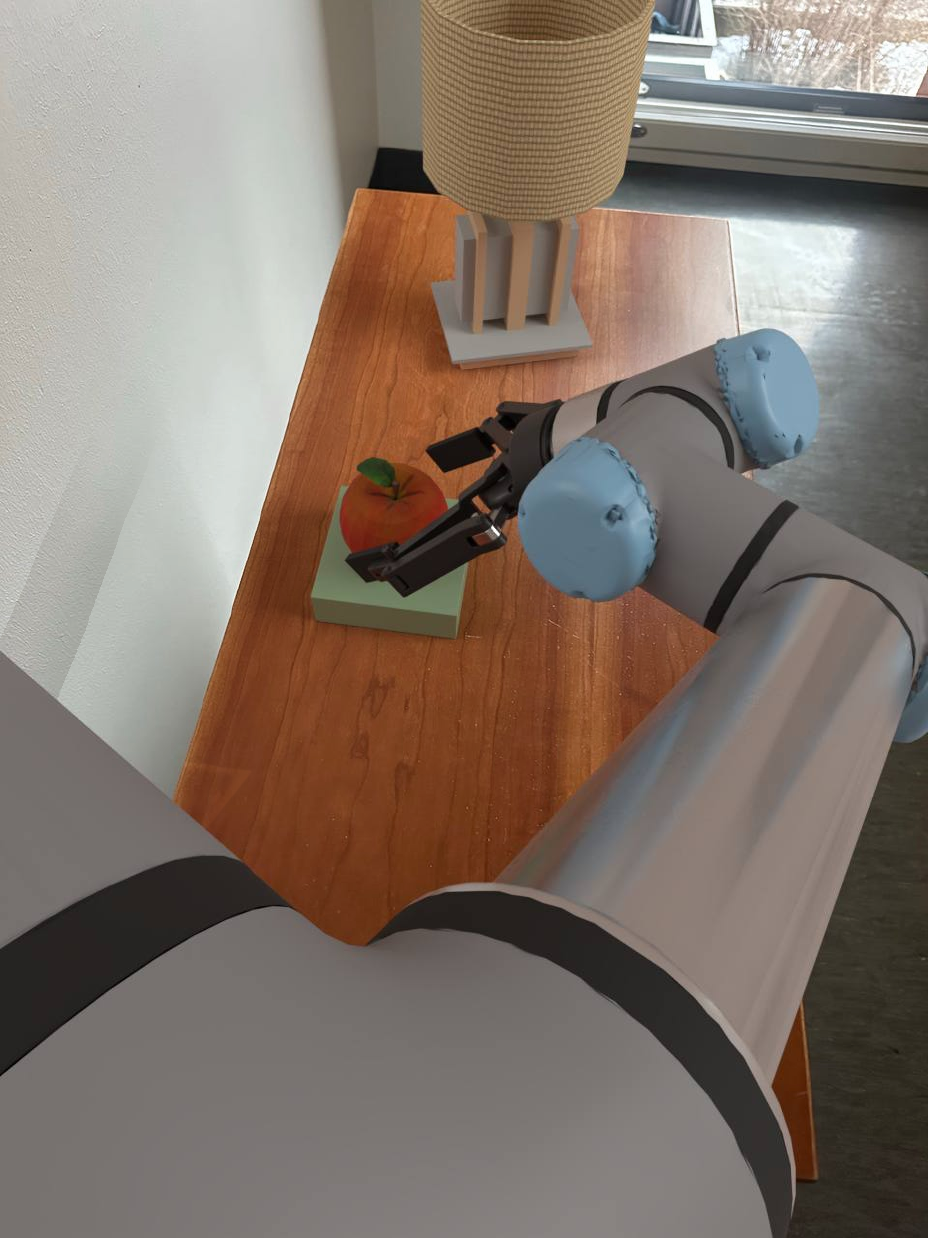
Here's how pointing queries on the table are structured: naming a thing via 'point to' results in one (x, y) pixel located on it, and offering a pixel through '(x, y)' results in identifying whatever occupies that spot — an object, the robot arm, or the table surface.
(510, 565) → the table surface
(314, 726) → the table surface
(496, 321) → the desk lamp
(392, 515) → the fruit
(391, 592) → the green block
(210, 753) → the table surface
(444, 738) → the table surface
